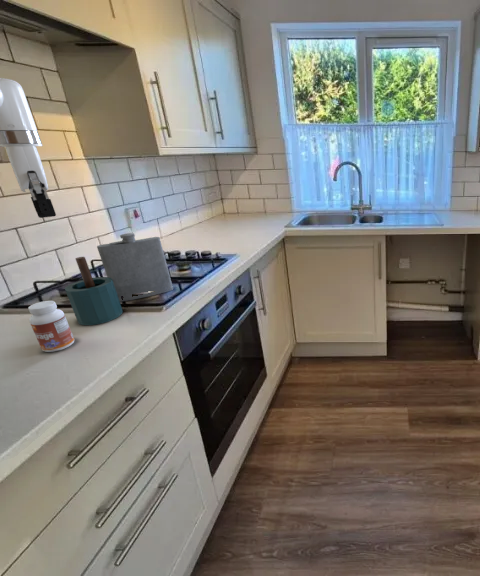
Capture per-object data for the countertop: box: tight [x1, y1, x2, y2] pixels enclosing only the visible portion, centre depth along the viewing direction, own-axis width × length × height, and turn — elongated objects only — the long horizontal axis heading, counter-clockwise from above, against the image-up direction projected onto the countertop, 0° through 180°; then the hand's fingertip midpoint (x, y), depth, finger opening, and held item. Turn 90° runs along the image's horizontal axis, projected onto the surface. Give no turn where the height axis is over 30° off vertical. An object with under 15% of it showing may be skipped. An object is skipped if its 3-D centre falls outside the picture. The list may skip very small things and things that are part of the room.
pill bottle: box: [27, 300, 75, 353], centre depth 85 cm, size 6×6×11 cm
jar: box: [64, 276, 124, 326], centre depth 100 cm, size 10×10×10 cm
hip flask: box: [96, 232, 174, 303], centre depth 111 cm, size 16×4×20 cm, turn 126°
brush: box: [75, 256, 95, 288], centre depth 98 cm, size 5×5×17 cm
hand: (46, 214), depth 89 cm, fingers open, 9 cm apart
